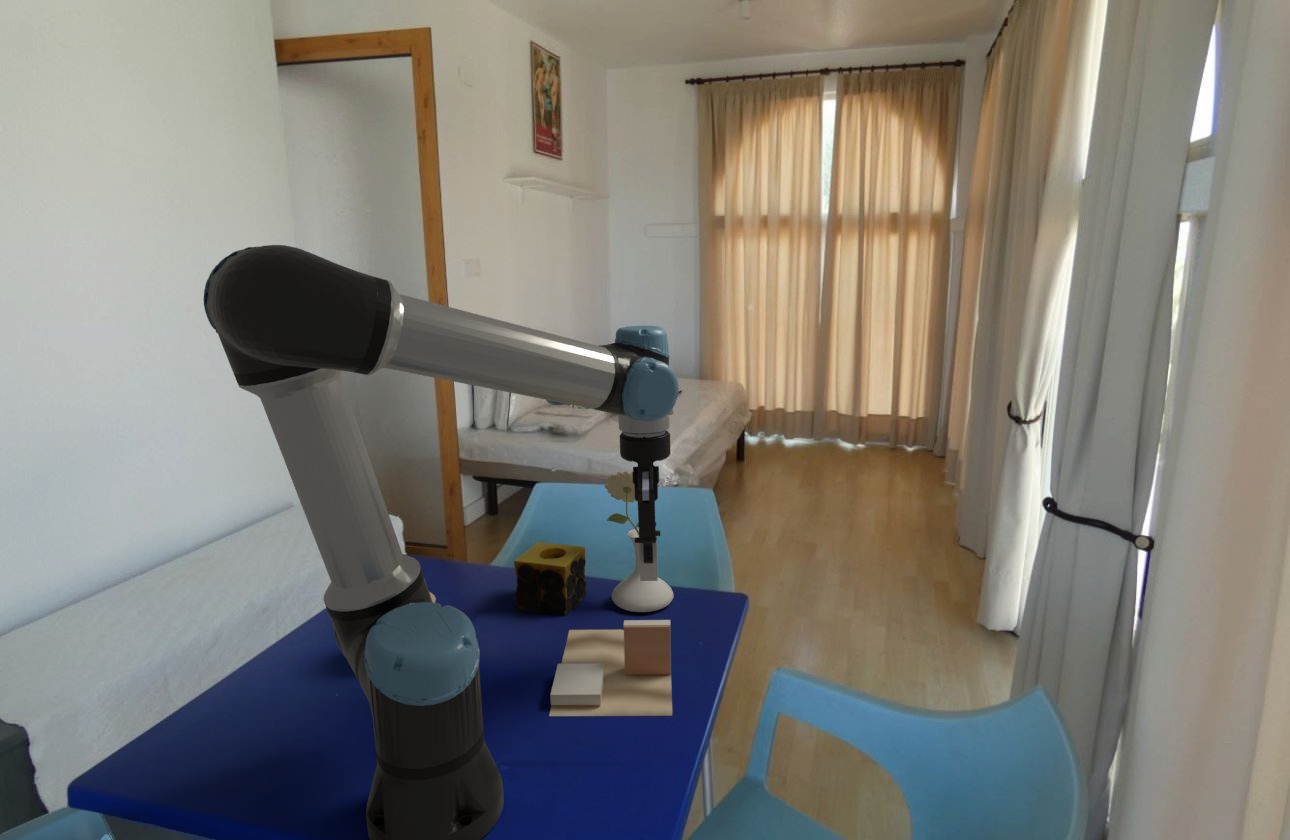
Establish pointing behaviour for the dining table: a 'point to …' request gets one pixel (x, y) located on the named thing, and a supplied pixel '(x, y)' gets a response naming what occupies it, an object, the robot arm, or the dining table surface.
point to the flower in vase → (631, 589)
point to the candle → (550, 578)
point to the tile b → (647, 647)
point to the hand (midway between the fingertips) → (648, 578)
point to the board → (615, 678)
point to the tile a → (578, 685)
